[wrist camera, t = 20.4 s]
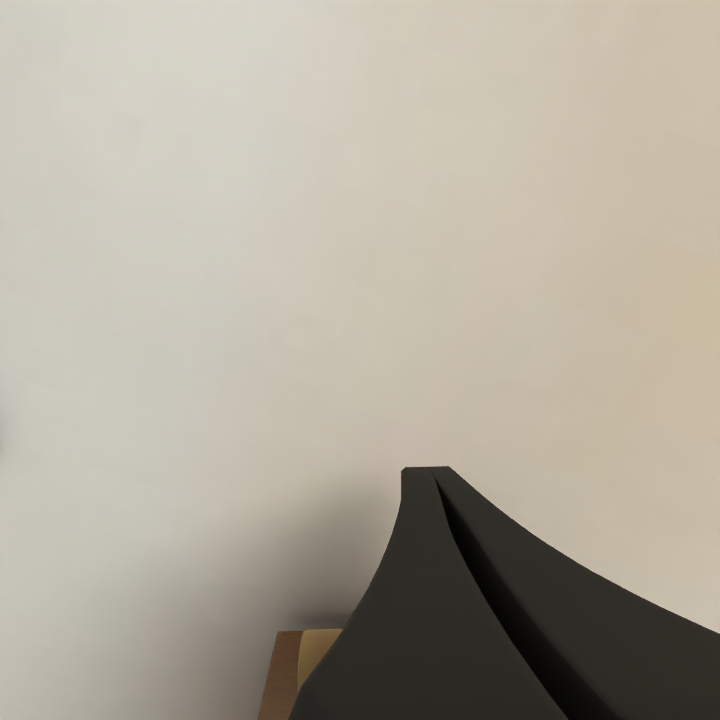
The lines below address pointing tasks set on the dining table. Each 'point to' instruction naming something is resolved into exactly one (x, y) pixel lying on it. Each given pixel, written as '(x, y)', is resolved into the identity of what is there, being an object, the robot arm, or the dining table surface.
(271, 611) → the dining table surface
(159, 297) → the dining table surface
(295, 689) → the drawer
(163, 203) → the dining table surface
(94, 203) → the dining table surface
